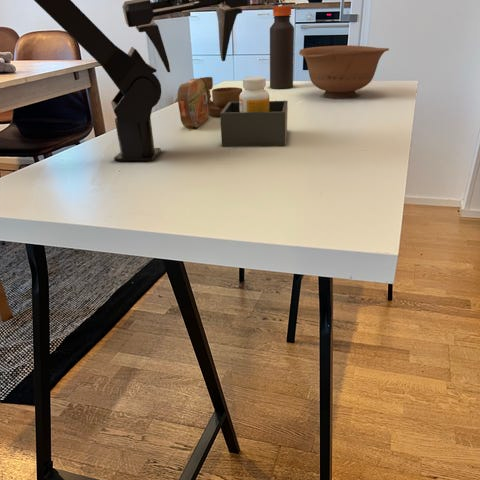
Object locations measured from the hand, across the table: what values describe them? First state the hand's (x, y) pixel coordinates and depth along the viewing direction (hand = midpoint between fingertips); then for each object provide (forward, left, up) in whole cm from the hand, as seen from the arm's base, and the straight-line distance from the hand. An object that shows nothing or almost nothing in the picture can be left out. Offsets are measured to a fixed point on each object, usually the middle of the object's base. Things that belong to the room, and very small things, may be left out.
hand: (196, 66), depth 78 cm
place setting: (+36, 0, -13) cm, 39 cm away
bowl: (+52, -27, -13) cm, 60 cm away
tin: (+20, +5, -13) cm, 25 cm away
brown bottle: (+69, -11, -13) cm, 71 cm away
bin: (+6, -9, -13) cm, 17 cm away
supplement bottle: (+6, -9, -13) cm, 16 cm away
